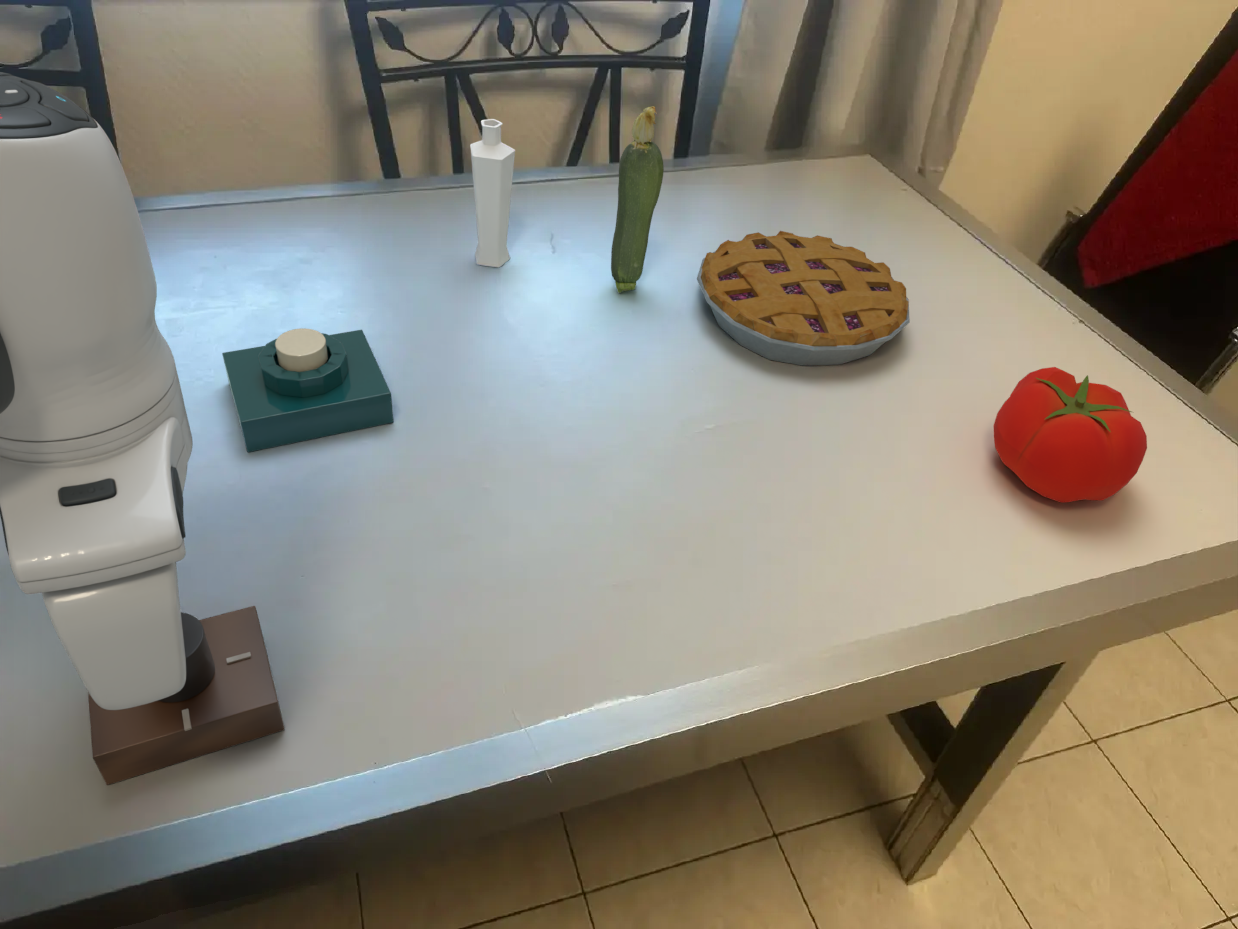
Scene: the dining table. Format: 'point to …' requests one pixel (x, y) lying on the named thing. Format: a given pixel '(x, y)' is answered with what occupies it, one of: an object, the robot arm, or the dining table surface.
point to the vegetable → (636, 201)
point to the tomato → (1069, 437)
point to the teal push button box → (307, 393)
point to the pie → (802, 298)
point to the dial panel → (195, 708)
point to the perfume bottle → (492, 193)
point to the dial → (194, 660)
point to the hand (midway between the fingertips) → (147, 619)
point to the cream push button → (301, 350)
